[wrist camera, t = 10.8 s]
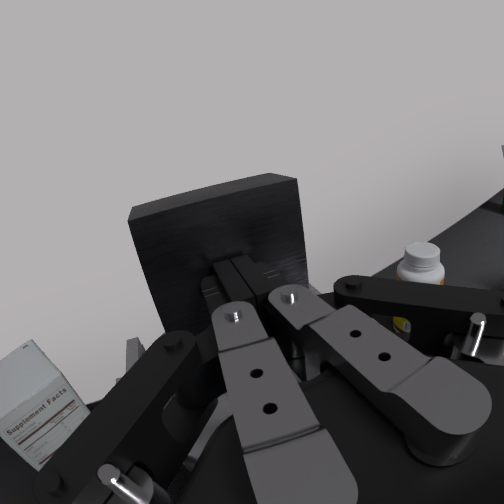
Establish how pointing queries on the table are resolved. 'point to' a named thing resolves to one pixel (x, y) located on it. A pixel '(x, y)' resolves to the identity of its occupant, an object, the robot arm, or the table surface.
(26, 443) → the supplement box
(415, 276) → the supplement bottle
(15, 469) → the table surface
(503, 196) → the milk carton
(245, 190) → the steel lid
